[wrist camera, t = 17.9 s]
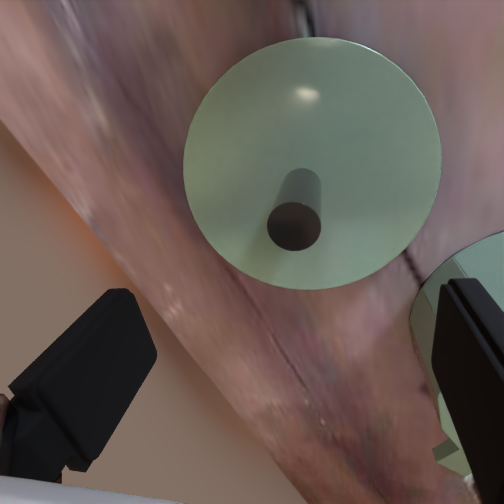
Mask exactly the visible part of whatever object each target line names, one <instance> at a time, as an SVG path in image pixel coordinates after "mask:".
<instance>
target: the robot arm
mask: <svg viewBox="0 0 504 504" xmlns="http://www.w3.org/2000/svg"><path fill="white" fill-rule="evenodd" d="M156 359H157V351H156V348H155V345H154V343H153V340H152V338H151V335H150V333H149V331H148V328H147V326H146V323H145V321H144V318H143V316H142V313H141V311H140V308H139V306H138V303H137V301H136V298H135V296H134V294H132V293H131V292H130V291H129V290H128V289H125V288H122V289H121V288H118V289H109V290H107V291H106V292H105V293H104V294H103V295H102V296H101V297H100V298H99V299H98V300H97V301H96V302H95V303H94V304H93V305H91V306H90V307H89V308H88V309H87V310H86V311H85V312H84V313H83V314H82V315H81V316H80V317H79V318H78V319H77V320H76V321H75V322H74V323H73V324H72V325H71V326H70V327H69V328H68V329H67V330H66V331H65V332H64V333H63V334H62V335H61V336H59V337H58V338H57V339H56V340H55V341H54V342H53V343H52V344H51V345H50V346H49V347H48V348H47V349H46V350H45V351H44V352H43V353H42V354H41V355H40V356H39V357H38V358H37V359H36V360H35V361H34V362H33V363H32V364H30V365H29V366H28V367H27V368H26V369H25V370H24V371H23V372H22V373H21V374H20V375H19V376H18V377H17V378H16V379H15V380H14V381H13V382H12V383H11V384H10V385H9V386H8V387H9V388H10V390H11V391H12V393H13V394H14V395H15V396H14V397H13V398H12V399H11V400H10V401H9V399H8V398H7V397H6V396H5V395H4V394H0V504H187V503H181V502H175V501H168V500H162V499H156V498H149V497H142V496H136V495H130V494H124V493H117V492H110V491H104V490H97V489H91V488H84V487H78V486H71V485H65V484H62V473H61V471H62V470H63V468H64V467H65V465H67V467H68V468H69V470H72V471H79V472H86V471H87V470H88V468H89V466H90V465H91V463H92V462H93V460H95V459H96V458H98V457H99V455H100V454H101V452H102V450H103V449H104V447H105V445H106V444H107V442H108V440H109V439H110V437H111V435H112V434H113V432H114V430H115V429H116V427H117V425H118V424H119V422H120V420H121V419H122V417H123V415H124V413H125V412H126V410H127V409H128V407H129V405H130V403H131V401H132V400H133V398H134V397H135V395H136V393H137V392H138V390H139V388H140V387H141V385H142V383H143V382H144V380H145V378H146V376H147V375H148V373H149V372H150V370H151V368H152V367H153V365H154V363H155V361H156ZM431 365H432V370H433V373H434V375H435V378H436V381H437V383H438V386H439V388H440V391H441V394H442V396H443V399H444V401H445V404H446V407H447V409H448V412H449V414H450V417H451V420H452V422H453V425H454V427H455V430H456V433H457V435H458V438H459V440H460V443H461V446H462V448H463V451H464V453H465V456H466V458H467V461H468V464H469V466H470V469H471V471H472V474H473V477H474V479H475V482H476V484H477V487H478V490H479V492H480V495H481V497H482V500H483V502H484V504H504V312H503V311H502V309H501V308H500V307H499V306H498V304H497V303H496V302H495V301H494V299H493V298H492V297H491V295H490V294H489V293H488V292H487V290H486V289H485V288H484V287H483V285H482V284H481V283H480V282H479V280H478V279H476V278H451V279H449V281H448V283H447V284H442V285H441V286H440V291H439V299H438V307H437V315H436V323H435V331H434V339H433V347H432V355H431Z"/></svg>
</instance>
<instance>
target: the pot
mask: <svg viewBox="0 0 504 504" xmlns="http://www.w3.org/2000/svg"><path fill="white" fill-rule="evenodd" d="M451 278H476V279H478V280H479V282H480V283H481V284H482V285H483V287H484V288H485V289H486V290H487V292H488V293H489V294H490V295H491V297H492V298H493V299H494V301H495V302H496V303H497V304H498V306H499V307H500V308H501V309H502V311H503V312H504V232H501V233H498V234H495V235H492V236H489V237H487V238H485V239H483V240H480V241H478V242H476V243H474V244H472V245H470V246H468V247H467V248H465V249H463V250H461V251H459V252H458V253H457V254H455V255H454V256H452V257H451V258H450V259H448V260H447V261H446V262H444V263H443V264H442V265H441V266H440V267H439V268H438V269H436V270H435V271H434V273H433V274H432V275H431V276H430V277H429V278H428V279H427V280H426V282H425V283H424V285H423V286H422V288H421V289H420V291H419V293H418V295H417V297H416V299H415V301H414V304H413V307H412V311H411V317H410V327H411V333H412V338H413V344H414V348H415V351H416V354H417V357H418V360H419V363H420V366H421V369H422V372H423V375H424V378H425V381H426V384H427V387H428V390H429V393H430V396H431V399H432V402H433V405H434V408H435V411H436V414H437V417H438V420H439V423H440V426H441V428H442V430H443V431H444V432H445V433H446V434H447V435H448V437H449V438H450V439H448V440H447V441H445V442H443V443H441V444H440V445H438V446H436V447H435V448H433V449H432V450H433V453H434V457H435V460H436V463H438V464H440V465H442V466H444V467H446V468H448V469H450V470H452V471H454V472H456V473H458V474H460V475H462V476H466V475H468V474H470V473H472V471H471V469H470V466H469V464H468V461H467V458H466V456H465V453H464V451H463V448H462V446H461V443H460V440H459V438H458V435H457V433H456V430H455V427H454V425H453V422H452V420H451V417H450V414H449V412H448V409H447V407H446V404H445V401H444V399H443V396H442V394H441V391H440V388H439V386H438V383H437V381H436V378H435V375H434V373H433V370H432V365H431V355H432V347H433V339H434V331H435V323H436V315H437V307H438V299H439V291H440V286H441V285H442V284H447V283H448V281H449V279H451Z"/></svg>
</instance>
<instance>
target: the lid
mask: <svg viewBox="0 0 504 504" xmlns="http://www.w3.org/2000/svg"><path fill="white" fill-rule="evenodd" d="M440 174H441V145H440V139H439V132H438V128H437V125H436V122H435V119H434V116H433V113H432V111H431V109H430V107H429V105H428V103H427V101H426V99H425V97H424V95H423V94H422V93H421V91H420V90H419V89H418V87H417V86H416V85H415V83H414V82H413V81H412V79H411V78H410V77H409V76H408V75H407V74H406V73H405V72H404V71H403V70H401V69H400V68H399V67H398V66H397V65H396V64H395V63H393V62H392V61H390V60H389V59H387V58H386V57H384V56H383V55H381V54H380V53H378V52H376V51H374V50H371V49H369V48H367V47H365V46H363V45H360V44H357V43H353V42H350V41H346V40H343V39H335V38H327V37H306V38H297V39H292V40H286V41H281V42H278V43H275V44H273V45H270V46H267V47H264V48H262V49H260V50H258V51H256V52H254V53H252V54H250V55H249V56H247V57H245V58H243V59H242V60H241V61H239V62H238V63H237V64H235V65H234V66H233V67H231V68H230V69H229V70H228V71H227V72H226V73H225V74H224V75H223V76H221V77H220V78H219V79H218V80H217V81H216V82H215V84H214V85H213V86H212V88H211V89H210V90H209V92H208V93H207V94H206V95H205V97H204V99H203V100H202V102H201V104H200V106H199V107H198V109H197V111H196V113H195V115H194V118H193V120H192V123H191V125H190V128H189V131H188V135H187V139H186V143H185V150H184V158H183V177H184V185H185V192H186V196H187V200H188V203H189V206H190V209H191V212H192V214H193V217H194V219H195V221H196V223H197V225H198V227H199V229H200V230H201V232H202V233H203V235H204V236H205V238H206V239H207V241H208V242H209V243H210V244H211V245H212V247H213V248H214V249H215V250H216V251H217V252H218V253H219V254H220V255H221V256H222V257H223V258H224V259H225V260H226V261H227V262H229V263H230V264H232V265H233V266H234V267H236V268H237V269H238V270H240V271H242V272H244V273H245V274H247V275H249V276H251V277H253V278H255V279H257V280H260V281H262V282H265V283H268V284H271V285H274V286H279V287H283V288H288V289H298V290H319V289H328V288H334V287H338V286H343V285H346V284H349V283H352V282H355V281H358V280H360V279H362V278H364V277H367V276H369V275H371V274H373V273H374V272H376V271H378V270H379V269H381V268H383V267H384V266H386V265H387V264H388V263H389V262H391V261H392V260H393V259H395V258H396V257H397V256H398V255H399V254H400V253H401V252H402V251H403V250H404V249H405V248H406V247H407V246H408V245H409V244H410V243H411V241H412V240H413V239H414V238H415V236H416V235H417V234H418V232H419V231H420V229H421V228H422V226H423V224H424V223H425V221H426V219H427V217H428V215H429V213H430V211H431V208H432V206H433V204H434V201H435V197H436V194H437V190H438V187H439V181H440Z"/></svg>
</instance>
